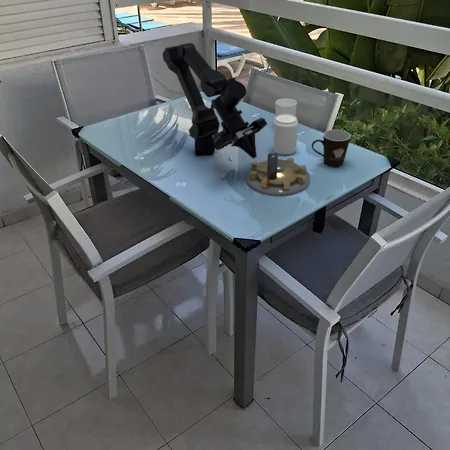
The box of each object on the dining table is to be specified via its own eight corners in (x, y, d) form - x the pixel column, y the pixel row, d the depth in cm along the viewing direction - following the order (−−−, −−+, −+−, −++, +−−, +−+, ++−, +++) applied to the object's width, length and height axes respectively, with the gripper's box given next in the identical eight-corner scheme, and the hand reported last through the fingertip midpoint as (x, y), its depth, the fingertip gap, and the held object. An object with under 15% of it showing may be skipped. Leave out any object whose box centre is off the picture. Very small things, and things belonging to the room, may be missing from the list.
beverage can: (295, 156, 163) (297, 123, 156) (271, 155, 164) (272, 122, 158) (296, 146, 170) (299, 114, 163) (274, 144, 171) (275, 113, 164)
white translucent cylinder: (272, 123, 186) (273, 98, 180) (292, 122, 187) (294, 97, 181) (276, 132, 180) (277, 106, 174) (296, 130, 180) (298, 105, 175)
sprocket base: (246, 196, 143) (247, 192, 142) (245, 164, 159) (245, 161, 158) (314, 195, 142) (314, 191, 142) (305, 163, 159) (305, 160, 158)
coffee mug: (348, 158, 161) (352, 131, 155) (344, 170, 154) (348, 142, 149) (313, 154, 164) (316, 127, 159) (309, 165, 158) (311, 137, 152)
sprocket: (250, 190, 143) (250, 162, 137) (248, 162, 157) (248, 135, 152) (310, 189, 142) (313, 161, 137) (303, 161, 157) (305, 134, 152)
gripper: (237, 117, 158) (261, 158, 158) (194, 135, 147) (220, 178, 147) (255, 100, 149) (280, 143, 148) (211, 117, 138) (238, 164, 138)
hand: (254, 157), depth 146 cm, fingers closed
